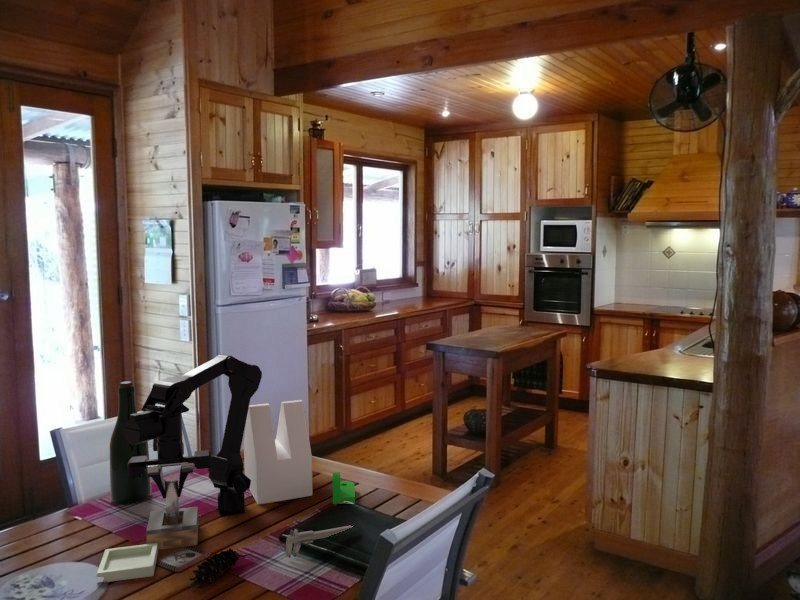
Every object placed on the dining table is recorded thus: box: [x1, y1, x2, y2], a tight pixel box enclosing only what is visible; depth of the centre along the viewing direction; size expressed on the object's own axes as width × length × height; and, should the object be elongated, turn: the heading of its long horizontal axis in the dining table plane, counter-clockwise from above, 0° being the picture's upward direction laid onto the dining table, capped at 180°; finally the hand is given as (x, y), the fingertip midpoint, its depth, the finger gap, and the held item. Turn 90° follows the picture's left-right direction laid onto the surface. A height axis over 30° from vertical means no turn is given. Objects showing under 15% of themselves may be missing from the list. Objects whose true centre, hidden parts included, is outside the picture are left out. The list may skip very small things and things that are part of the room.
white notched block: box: [243, 399, 313, 505], centre depth 186 cm, size 19×15×25 cm
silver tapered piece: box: [164, 478, 180, 524], centre depth 155 cm, size 6×3×10 cm, turn 20°
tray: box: [96, 543, 159, 583], centre depth 141 cm, size 11×11×2 cm
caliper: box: [285, 524, 354, 559], centre depth 151 cm, size 20×1×6 cm, turn 134°
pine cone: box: [188, 547, 252, 589], centre depth 139 cm, size 18×5×5 cm
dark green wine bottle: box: [108, 380, 152, 506], centre depth 178 cm, size 10×10×33 cm
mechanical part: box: [332, 471, 356, 505], centre depth 181 cm, size 12×6×8 cm, turn 5°
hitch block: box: [145, 505, 199, 551], centre depth 155 cm, size 11×11×5 cm
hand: (171, 497), depth 155 cm, fingers closed on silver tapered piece, 3 cm apart
